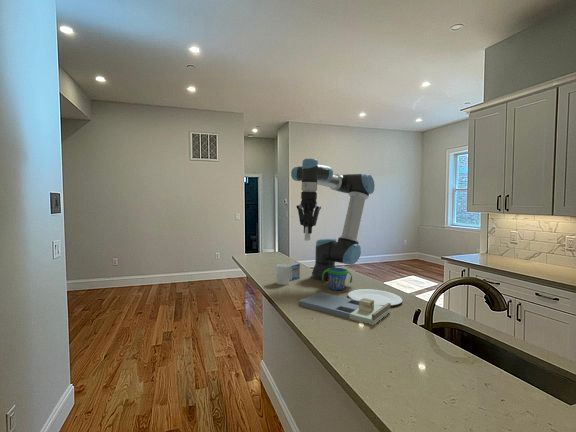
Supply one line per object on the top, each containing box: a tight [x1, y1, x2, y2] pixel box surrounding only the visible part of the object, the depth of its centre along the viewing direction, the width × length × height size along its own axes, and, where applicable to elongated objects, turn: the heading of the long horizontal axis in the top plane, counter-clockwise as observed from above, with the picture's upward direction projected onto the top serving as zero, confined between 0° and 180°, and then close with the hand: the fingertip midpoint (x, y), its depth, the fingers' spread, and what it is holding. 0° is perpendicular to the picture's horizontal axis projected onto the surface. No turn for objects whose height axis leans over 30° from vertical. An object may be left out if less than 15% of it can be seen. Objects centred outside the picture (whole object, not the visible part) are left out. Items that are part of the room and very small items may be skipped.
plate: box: [347, 288, 403, 307], centre depth 151 cm, size 25×25×2 cm
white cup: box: [275, 263, 291, 286], centre depth 174 cm, size 8×8×10 cm
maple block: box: [359, 298, 374, 313], centre depth 129 cm, size 4×4×4 cm
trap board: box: [298, 291, 392, 326], centre depth 136 cm, size 18×34×4 cm, turn 54°
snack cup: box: [321, 267, 353, 291], centre depth 167 cm, size 16×10×10 cm
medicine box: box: [289, 262, 301, 281], centre depth 185 cm, size 8×4×9 cm, turn 143°
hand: (307, 240), depth 154 cm, fingers closed
